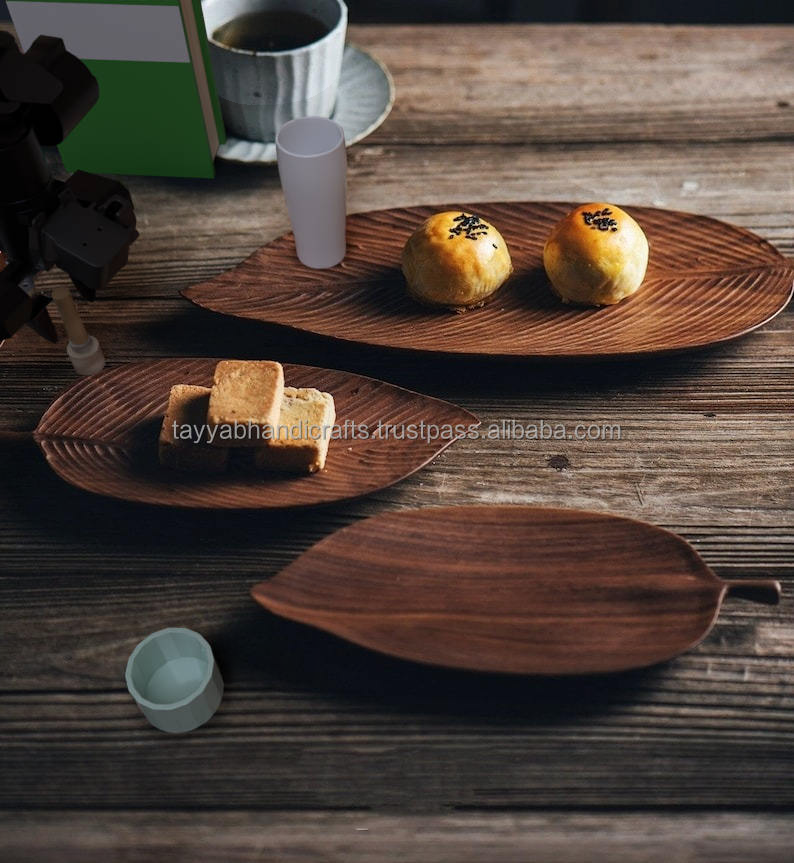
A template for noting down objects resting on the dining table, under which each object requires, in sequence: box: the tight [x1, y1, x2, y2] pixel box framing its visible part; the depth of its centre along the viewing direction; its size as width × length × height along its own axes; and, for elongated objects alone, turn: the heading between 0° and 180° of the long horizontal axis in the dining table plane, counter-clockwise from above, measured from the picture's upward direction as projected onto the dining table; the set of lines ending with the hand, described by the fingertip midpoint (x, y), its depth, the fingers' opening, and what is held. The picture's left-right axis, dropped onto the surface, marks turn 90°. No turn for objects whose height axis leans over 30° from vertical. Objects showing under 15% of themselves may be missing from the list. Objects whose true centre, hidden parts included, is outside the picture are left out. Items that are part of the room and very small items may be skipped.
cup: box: [124, 627, 225, 734], centre depth 68 cm, size 6×6×5 cm
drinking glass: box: [274, 115, 348, 270], centre depth 94 cm, size 7×7×15 cm
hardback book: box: [5, 0, 228, 179], centre depth 102 cm, size 18×7×24 cm, turn 85°
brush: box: [51, 286, 106, 376], centre depth 87 cm, size 3×3×10 cm
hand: (71, 320), depth 86 cm, fingers open, 5 cm apart
